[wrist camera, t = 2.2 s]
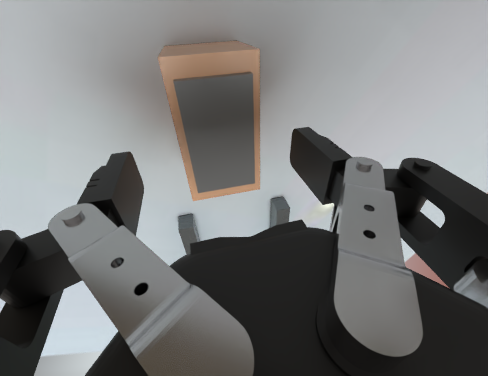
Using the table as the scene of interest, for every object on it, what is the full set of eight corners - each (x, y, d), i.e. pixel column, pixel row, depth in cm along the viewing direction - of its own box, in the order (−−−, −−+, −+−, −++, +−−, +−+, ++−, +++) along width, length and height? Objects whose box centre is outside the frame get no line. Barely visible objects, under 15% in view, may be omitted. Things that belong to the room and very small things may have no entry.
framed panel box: (236, 40, 16) (262, 50, 11) (242, 152, 21) (261, 193, 16) (164, 45, 15) (156, 58, 10) (190, 160, 21) (193, 205, 16)
